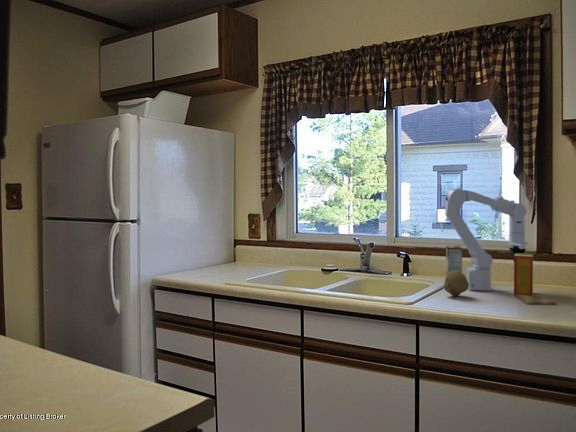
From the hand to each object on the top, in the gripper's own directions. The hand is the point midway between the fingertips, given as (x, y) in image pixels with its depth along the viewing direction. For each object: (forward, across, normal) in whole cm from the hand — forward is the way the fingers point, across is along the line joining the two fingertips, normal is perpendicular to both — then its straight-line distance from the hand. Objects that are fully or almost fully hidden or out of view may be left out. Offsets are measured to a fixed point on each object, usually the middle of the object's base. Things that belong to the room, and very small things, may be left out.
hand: (517, 264), depth 211 cm
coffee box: (+10, +17, +23) cm, 30 cm away
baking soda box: (+11, -10, +1) cm, 14 cm away
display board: (+10, -23, +1) cm, 25 cm away
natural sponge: (+10, -17, +28) cm, 34 cm away
